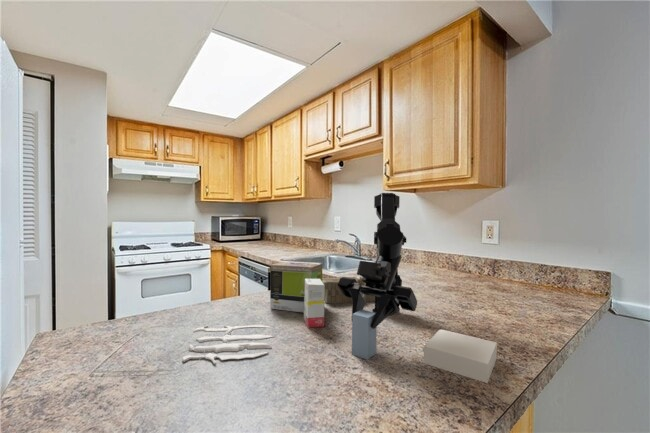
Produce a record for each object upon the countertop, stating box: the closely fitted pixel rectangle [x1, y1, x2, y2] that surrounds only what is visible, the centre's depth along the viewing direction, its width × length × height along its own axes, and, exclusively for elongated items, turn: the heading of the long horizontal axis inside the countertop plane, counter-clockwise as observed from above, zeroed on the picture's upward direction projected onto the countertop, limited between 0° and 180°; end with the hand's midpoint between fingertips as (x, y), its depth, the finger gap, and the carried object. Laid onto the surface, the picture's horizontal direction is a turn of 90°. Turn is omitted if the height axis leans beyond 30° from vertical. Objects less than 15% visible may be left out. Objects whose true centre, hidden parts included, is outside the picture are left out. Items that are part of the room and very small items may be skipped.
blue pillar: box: [351, 309, 378, 360], centre depth 67 cm, size 4×4×9 cm
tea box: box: [269, 260, 323, 313], centre depth 99 cm, size 15×10×15 cm
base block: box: [422, 328, 498, 384], centre depth 64 cm, size 12×12×4 cm
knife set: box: [90, 323, 276, 374], centre depth 71 cm, size 26×35×1 cm
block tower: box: [322, 276, 375, 304], centre depth 111 cm, size 8×8×29 cm
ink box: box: [303, 279, 325, 328], centre depth 86 cm, size 9×5×12 cm, turn 10°
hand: (362, 325), depth 66 cm, fingers open, 5 cm apart
